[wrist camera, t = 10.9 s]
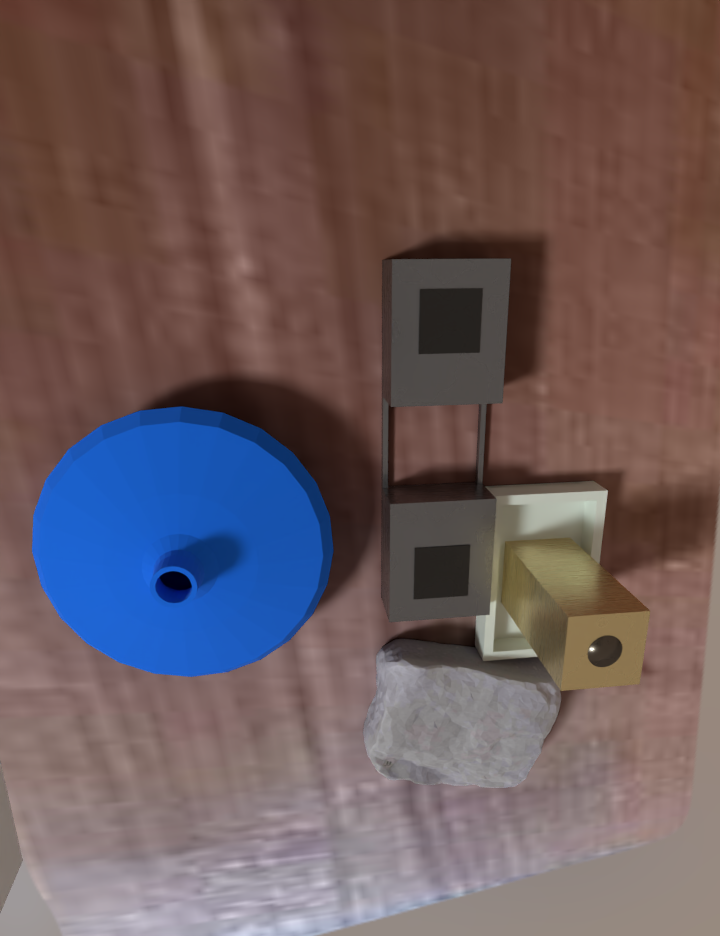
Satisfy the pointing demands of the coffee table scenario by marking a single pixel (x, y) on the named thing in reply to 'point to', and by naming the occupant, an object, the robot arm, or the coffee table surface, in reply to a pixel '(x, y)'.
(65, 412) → the coffee table surface
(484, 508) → the rack rail
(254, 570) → the blue funnel disc
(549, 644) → the wooden drawer with knob
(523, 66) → the coffee table surface
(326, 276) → the coffee table surface
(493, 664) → the stone block
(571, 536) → the parts tray
